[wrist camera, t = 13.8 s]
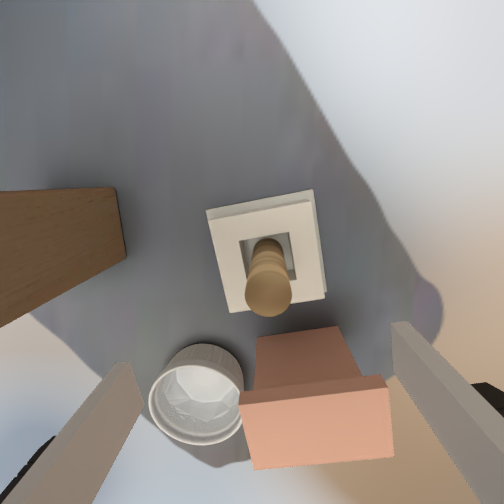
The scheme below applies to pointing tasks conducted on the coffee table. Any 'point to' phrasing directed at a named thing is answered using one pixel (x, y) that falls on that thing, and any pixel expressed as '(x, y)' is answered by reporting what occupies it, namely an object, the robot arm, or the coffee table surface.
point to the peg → (268, 280)
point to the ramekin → (198, 395)
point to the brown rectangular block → (313, 403)
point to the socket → (269, 226)
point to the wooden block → (54, 243)
